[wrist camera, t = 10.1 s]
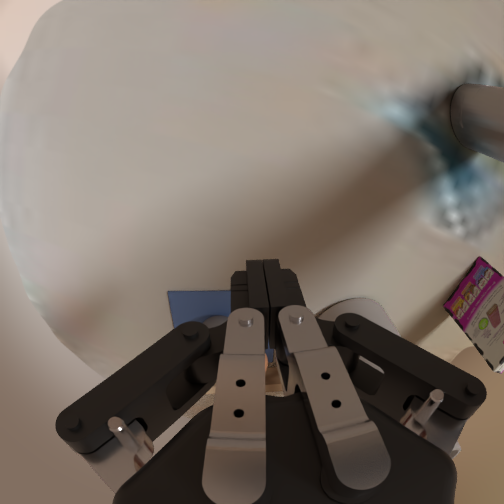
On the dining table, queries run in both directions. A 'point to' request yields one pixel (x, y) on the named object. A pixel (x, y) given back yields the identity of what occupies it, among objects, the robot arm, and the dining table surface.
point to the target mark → (202, 308)
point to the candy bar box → (481, 311)
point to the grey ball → (215, 321)
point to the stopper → (270, 381)
